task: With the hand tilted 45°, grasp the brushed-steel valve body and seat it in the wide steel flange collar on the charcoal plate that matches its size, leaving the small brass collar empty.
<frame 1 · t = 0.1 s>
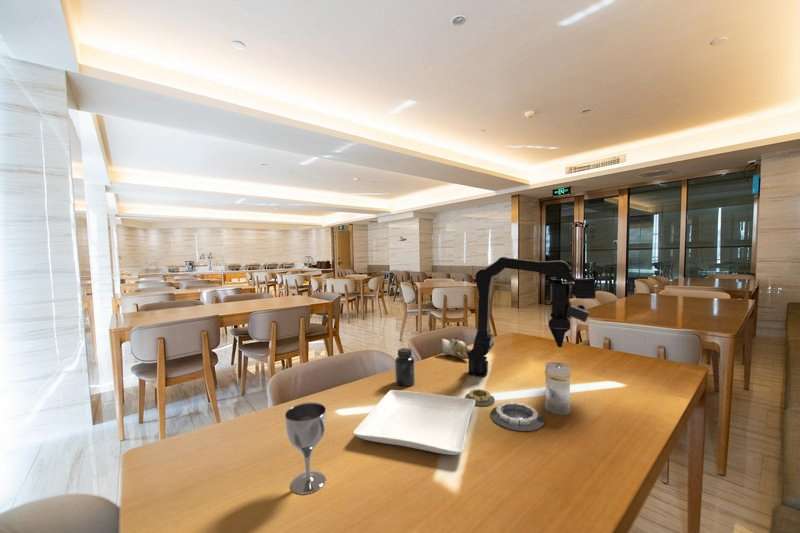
hand: (560, 343, 113), 15 cm above the table, fingers open, 9 cm apart
steel valve body: (557, 409, 98), on the table
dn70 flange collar: (516, 418, 93), on the table
square plate: (419, 427, 90), on the table
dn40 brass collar: (479, 399, 105), on the table
wine glass: (308, 483, 69), on the table
ceramic sculpture: (457, 357, 147), on the table
supplement bottle: (405, 383, 119), on the table
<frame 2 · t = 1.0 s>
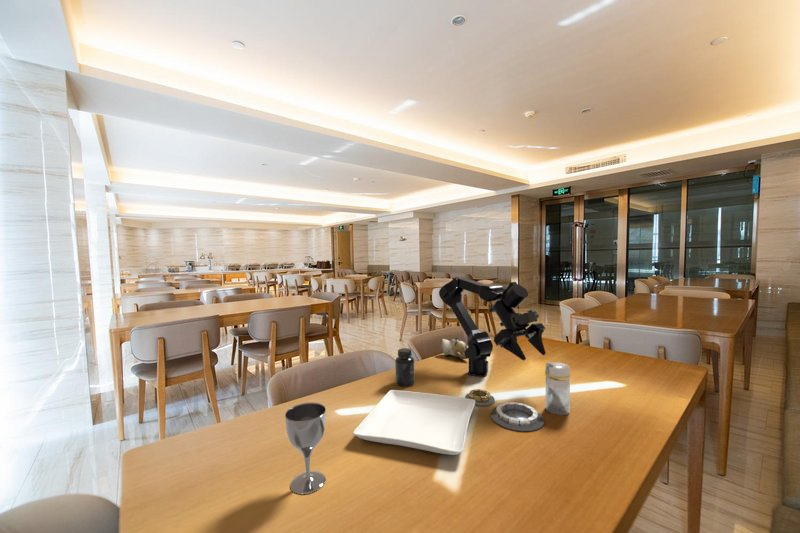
hand: (534, 357, 104), 13 cm above the table, fingers open, 9 cm apart
nothing on the table moved.
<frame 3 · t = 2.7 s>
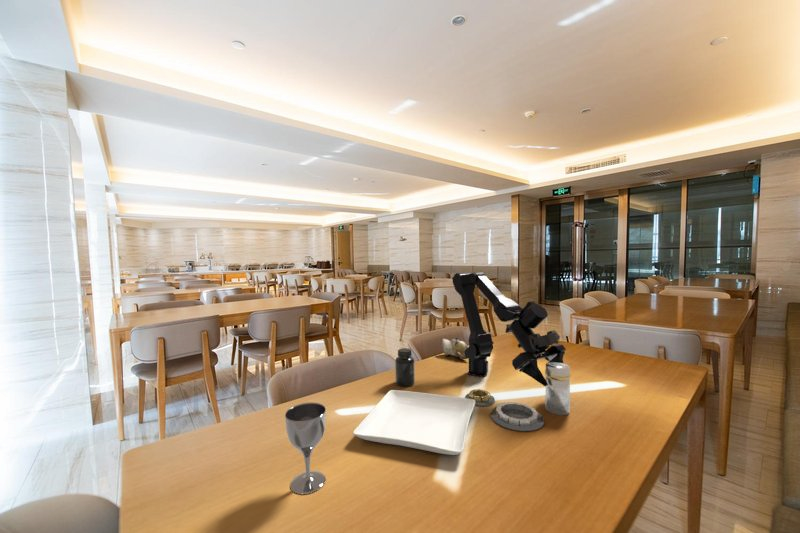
hand: (556, 382, 97), 8 cm above the table, fingers open, 9 cm apart
nothing on the table moved.
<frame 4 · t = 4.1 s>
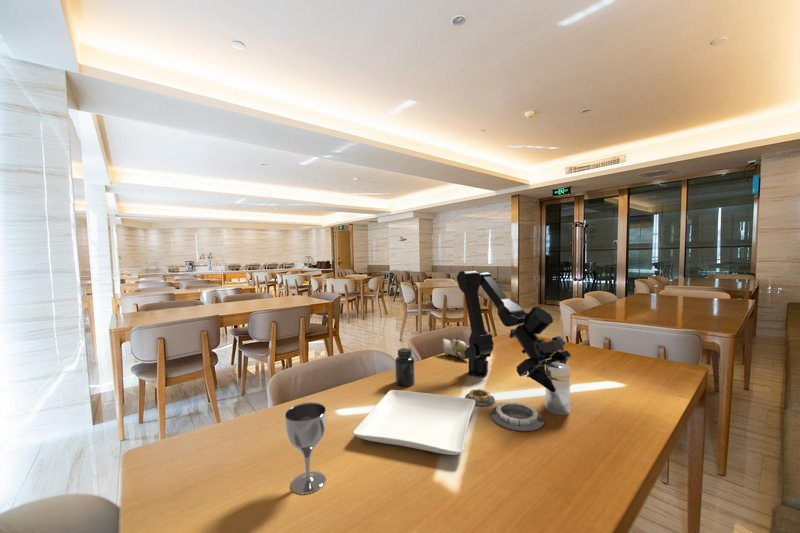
hand: (561, 389, 96), 7 cm above the table, fingers closed on steel valve body, 6 cm apart
steel valve body: (557, 409, 98), on the table, touching gripper
everything else where it was.
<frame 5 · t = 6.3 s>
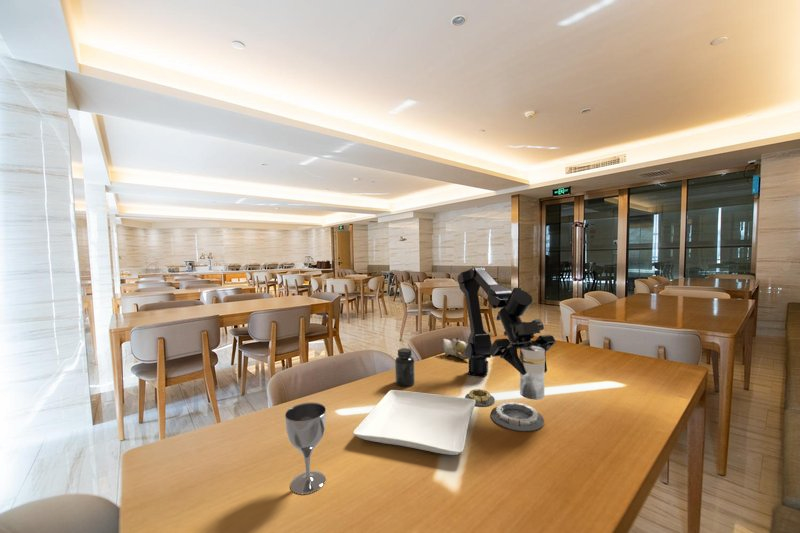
hand: (534, 373, 92), 13 cm above the table, fingers closed on steel valve body, 6 cm apart
steel valve body: (531, 394, 94), point 6 cm above the table, touching gripper
everything else where it was.
when the fingers open (8 cm above the table, at t = 8.6 s): steel valve body drops 1 cm, resting on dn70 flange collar.
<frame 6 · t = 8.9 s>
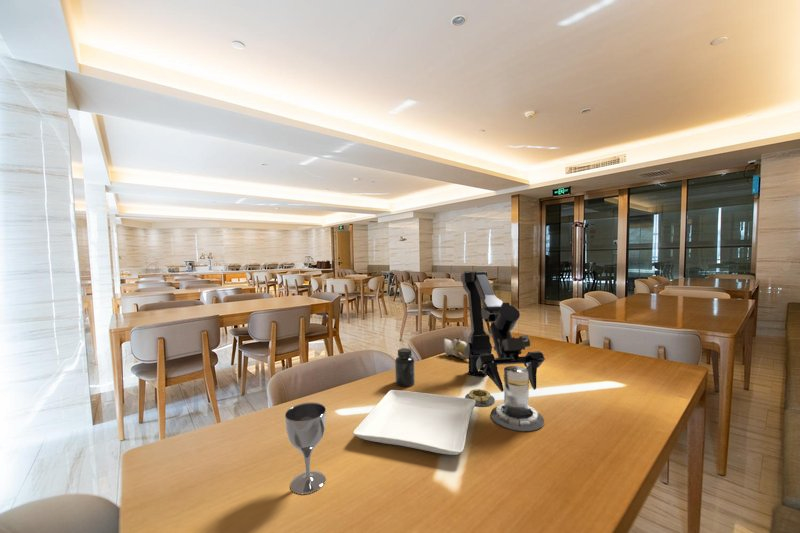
hand: (518, 390, 91), 9 cm above the table, fingers open, 9 cm apart
steel valve body: (516, 415, 93), point 1 cm above the table, touching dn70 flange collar
everything else where it was.
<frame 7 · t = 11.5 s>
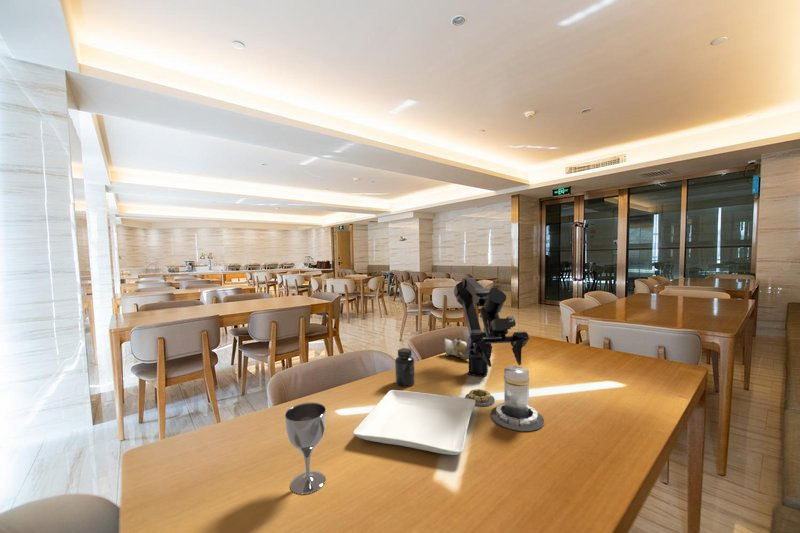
hand: (505, 365, 101), 12 cm above the table, fingers open, 9 cm apart
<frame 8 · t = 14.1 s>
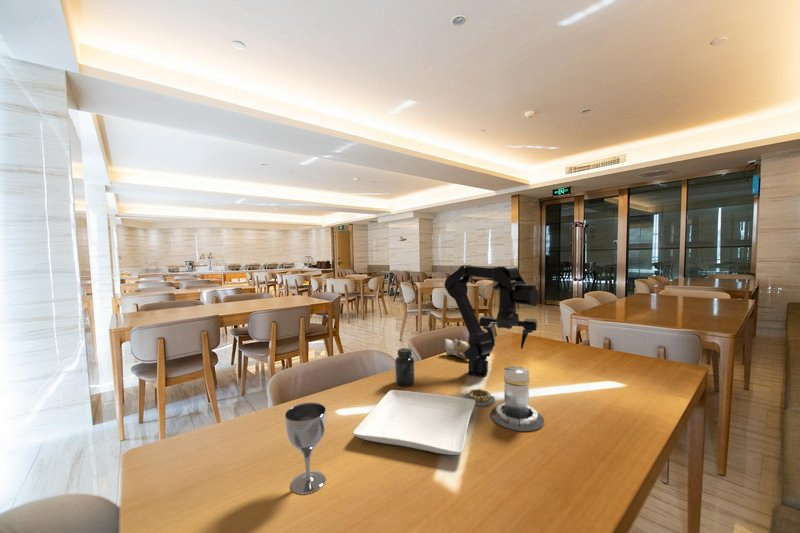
hand: (507, 347, 116), 13 cm above the table, fingers open, 9 cm apart
at the end: steel valve body 0.1 cm off-centre on the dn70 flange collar, point 0.5 cm above the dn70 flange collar's base; steel valve body tilted 0°; the gripper is holding nothing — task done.
